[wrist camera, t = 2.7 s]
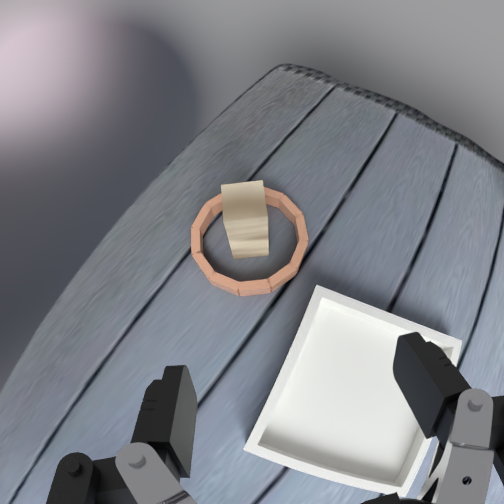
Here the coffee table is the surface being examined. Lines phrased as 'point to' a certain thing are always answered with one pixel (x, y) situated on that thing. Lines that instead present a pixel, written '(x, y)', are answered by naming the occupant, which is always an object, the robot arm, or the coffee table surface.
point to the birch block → (246, 218)
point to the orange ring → (253, 286)
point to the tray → (346, 398)
